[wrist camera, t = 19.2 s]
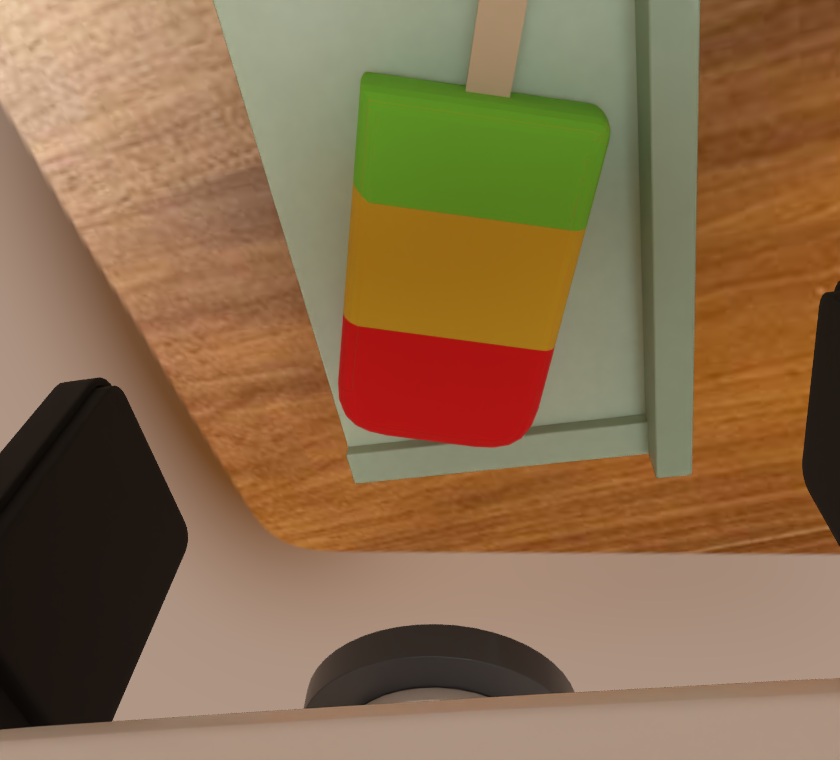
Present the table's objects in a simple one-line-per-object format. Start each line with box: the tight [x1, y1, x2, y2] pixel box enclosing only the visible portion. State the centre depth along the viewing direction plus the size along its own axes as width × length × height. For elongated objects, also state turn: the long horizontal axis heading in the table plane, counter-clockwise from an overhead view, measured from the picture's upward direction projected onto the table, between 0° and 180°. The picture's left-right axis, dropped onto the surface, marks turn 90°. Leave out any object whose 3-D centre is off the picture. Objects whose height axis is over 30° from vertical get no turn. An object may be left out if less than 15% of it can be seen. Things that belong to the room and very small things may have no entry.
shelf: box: [213, 0, 700, 484], centre depth 20 cm, size 19×10×8 cm, turn 11°
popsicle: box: [338, 0, 611, 448], centre depth 17 cm, size 6×15×2 cm, turn 173°
